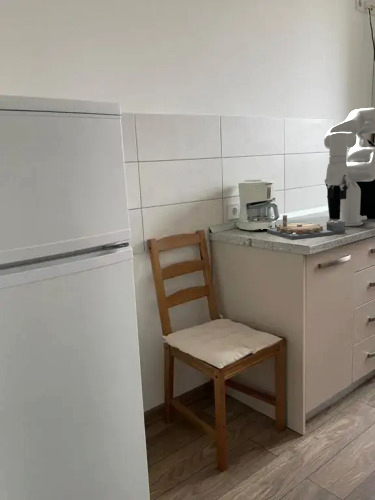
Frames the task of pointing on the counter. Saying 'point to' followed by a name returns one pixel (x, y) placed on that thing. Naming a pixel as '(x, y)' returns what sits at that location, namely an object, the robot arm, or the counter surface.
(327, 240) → the counter surface
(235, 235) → the counter surface
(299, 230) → the sprocket disc
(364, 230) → the counter surface
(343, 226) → the grey block
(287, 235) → the sprocket base
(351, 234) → the counter surface
